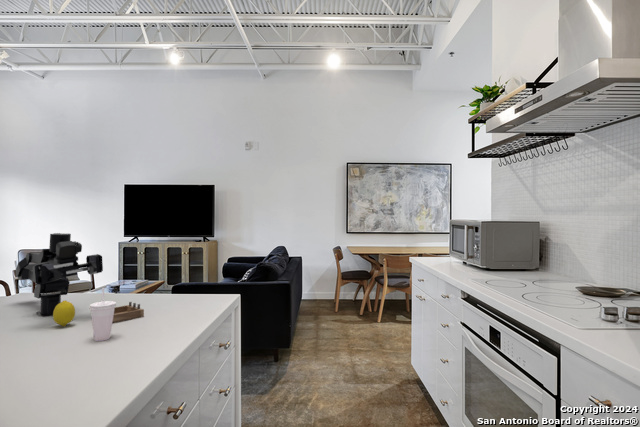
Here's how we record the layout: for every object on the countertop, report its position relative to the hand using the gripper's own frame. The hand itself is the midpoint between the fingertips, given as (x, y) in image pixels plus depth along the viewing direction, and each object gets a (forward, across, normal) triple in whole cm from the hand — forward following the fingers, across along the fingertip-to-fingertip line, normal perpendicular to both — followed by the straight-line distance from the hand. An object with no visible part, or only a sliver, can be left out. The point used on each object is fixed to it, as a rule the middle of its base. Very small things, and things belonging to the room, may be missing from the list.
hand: (79, 272), depth 109 cm
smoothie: (+20, -2, +15) cm, 25 cm away
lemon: (-2, -5, +16) cm, 17 cm away
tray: (+1, +10, +18) cm, 20 cm away
